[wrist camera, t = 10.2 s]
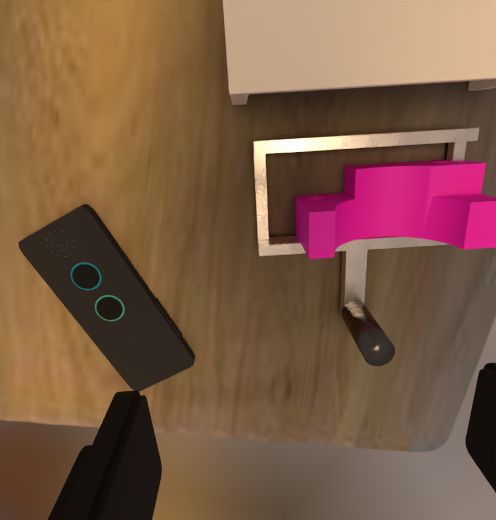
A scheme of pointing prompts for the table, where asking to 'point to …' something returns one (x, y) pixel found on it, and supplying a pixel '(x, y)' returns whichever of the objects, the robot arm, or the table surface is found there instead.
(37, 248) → the smart home device
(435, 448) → the table surface
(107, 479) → the robot arm
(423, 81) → the tunnel
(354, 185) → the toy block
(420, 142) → the slider
